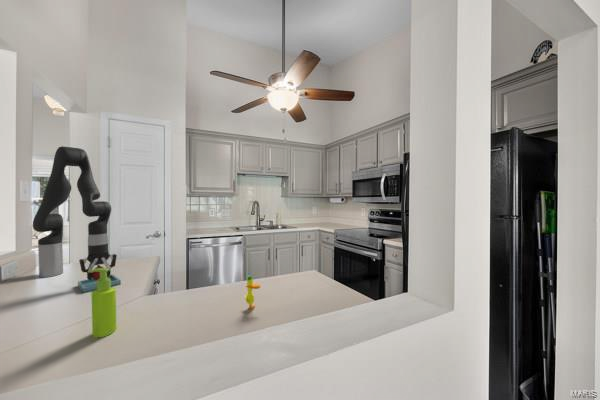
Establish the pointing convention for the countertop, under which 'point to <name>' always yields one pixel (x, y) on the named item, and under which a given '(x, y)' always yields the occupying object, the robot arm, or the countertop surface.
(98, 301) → the soap dispenser
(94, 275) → the onion
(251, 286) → the toy figure
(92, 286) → the tray
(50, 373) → the countertop surface
